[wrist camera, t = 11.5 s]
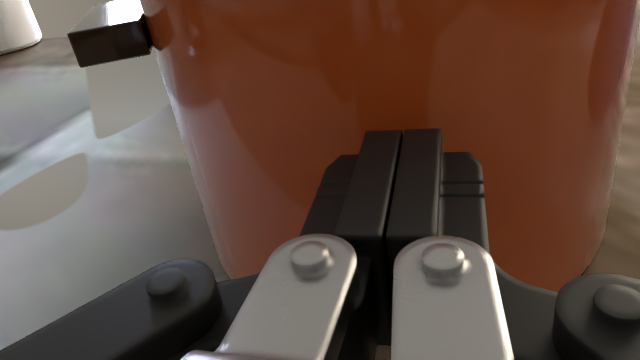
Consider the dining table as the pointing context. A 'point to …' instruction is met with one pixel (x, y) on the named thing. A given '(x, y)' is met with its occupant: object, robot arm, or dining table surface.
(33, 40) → the can
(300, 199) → the pot
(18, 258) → the dining table surface
